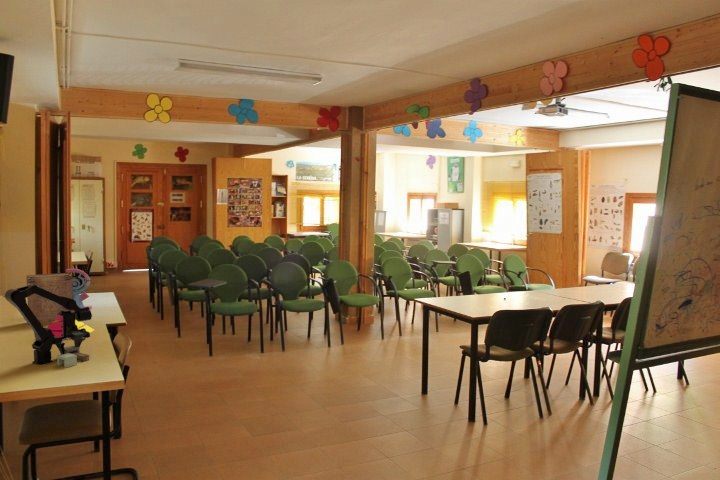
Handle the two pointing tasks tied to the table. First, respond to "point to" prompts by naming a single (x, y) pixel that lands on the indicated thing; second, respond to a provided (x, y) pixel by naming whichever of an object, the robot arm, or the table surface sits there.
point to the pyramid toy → (58, 330)
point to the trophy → (75, 290)
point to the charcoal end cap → (71, 349)
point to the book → (53, 283)
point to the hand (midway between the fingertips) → (70, 354)
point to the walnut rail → (81, 356)
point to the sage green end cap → (67, 359)
